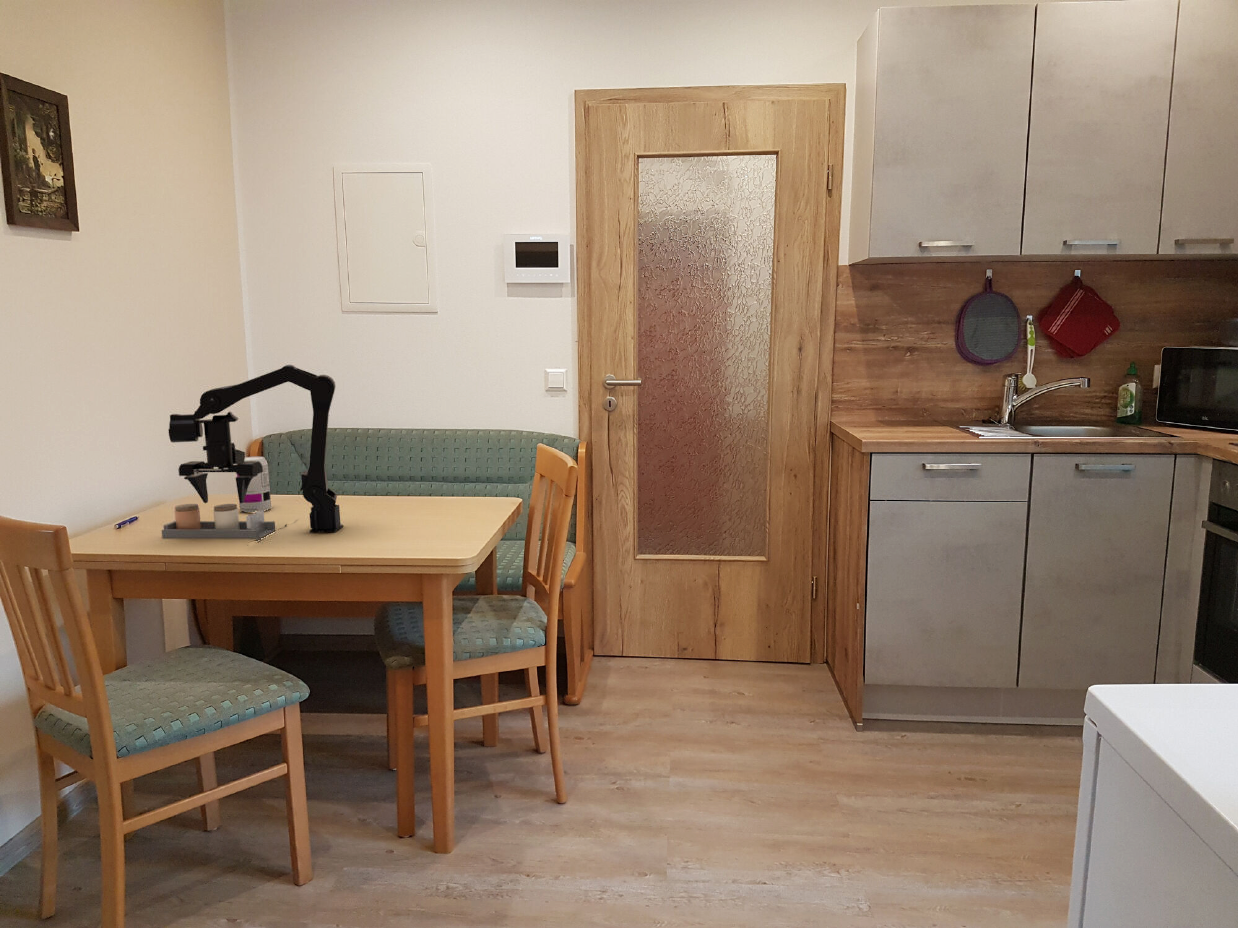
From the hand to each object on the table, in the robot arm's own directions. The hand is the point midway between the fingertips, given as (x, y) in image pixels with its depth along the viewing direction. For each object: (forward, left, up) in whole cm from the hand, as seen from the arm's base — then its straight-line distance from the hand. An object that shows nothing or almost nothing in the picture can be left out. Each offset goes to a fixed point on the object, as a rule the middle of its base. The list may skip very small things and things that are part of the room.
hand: (223, 502), depth 210 cm
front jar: (+10, 0, -8) cm, 13 cm away
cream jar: (0, 0, -8) cm, 8 cm away
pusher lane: (+2, 0, -9) cm, 9 cm away
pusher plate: (-8, 0, -8) cm, 11 cm away
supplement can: (+8, -30, -9) cm, 32 cm away
